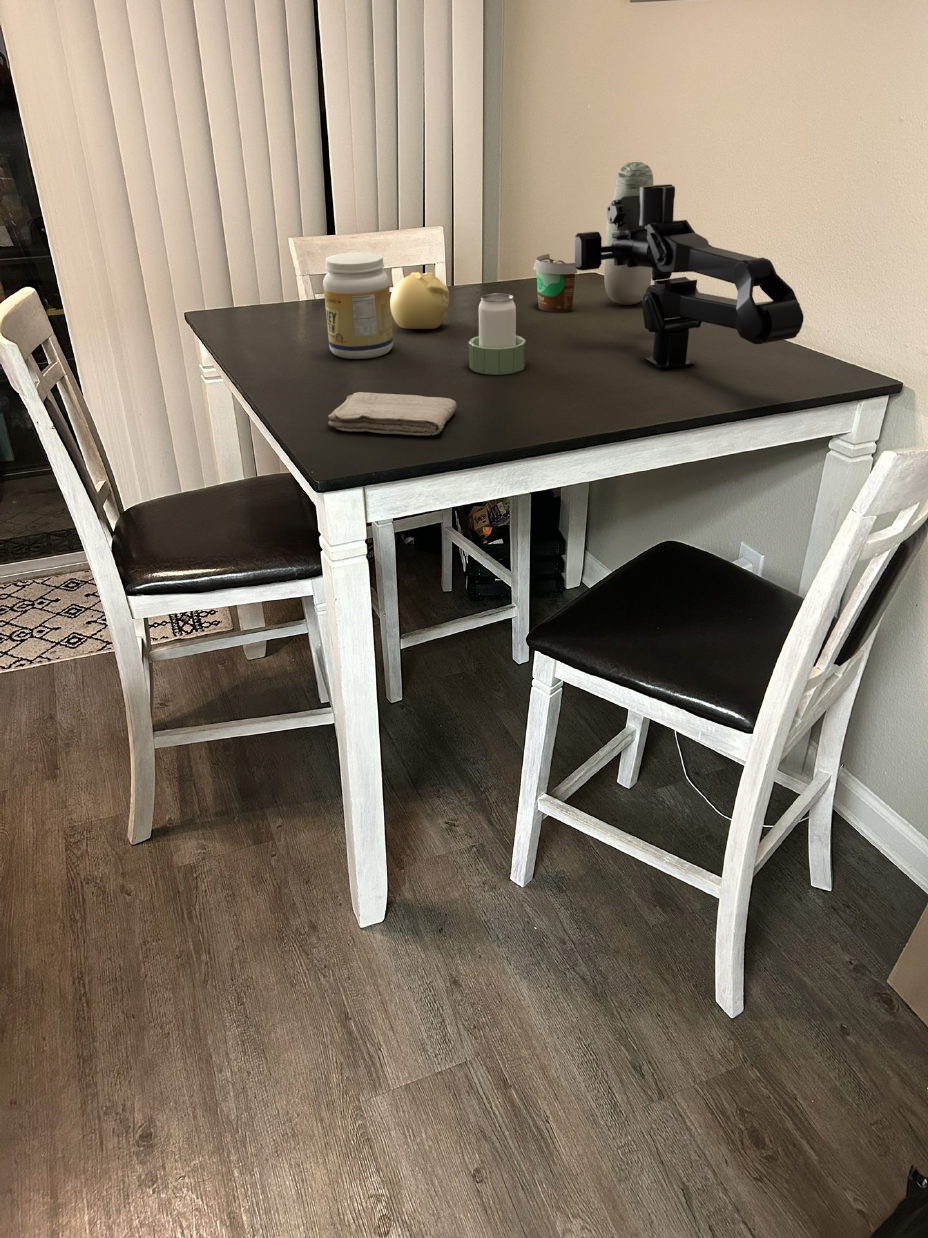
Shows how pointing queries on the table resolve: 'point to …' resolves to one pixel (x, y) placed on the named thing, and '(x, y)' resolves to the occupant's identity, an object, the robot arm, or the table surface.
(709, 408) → the table surface
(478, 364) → the segmented ring
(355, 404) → the washcloth
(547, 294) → the food container
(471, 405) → the table surface
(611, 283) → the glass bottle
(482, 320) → the can
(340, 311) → the supplement tub
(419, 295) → the sculpture
